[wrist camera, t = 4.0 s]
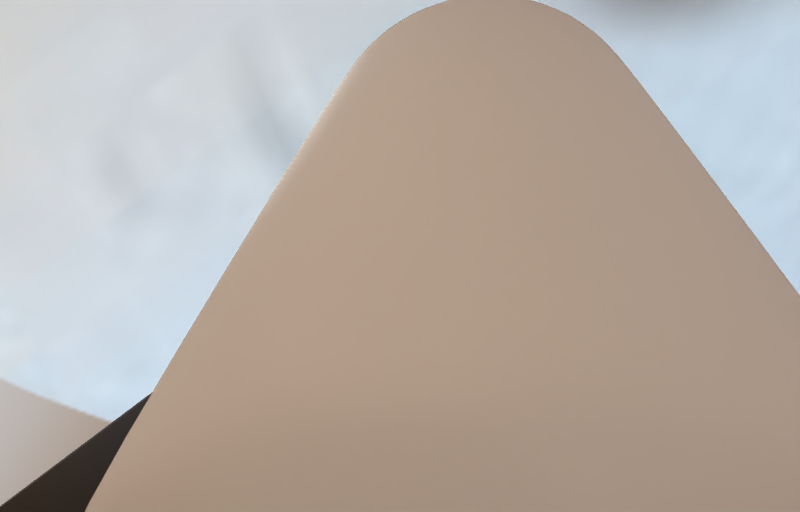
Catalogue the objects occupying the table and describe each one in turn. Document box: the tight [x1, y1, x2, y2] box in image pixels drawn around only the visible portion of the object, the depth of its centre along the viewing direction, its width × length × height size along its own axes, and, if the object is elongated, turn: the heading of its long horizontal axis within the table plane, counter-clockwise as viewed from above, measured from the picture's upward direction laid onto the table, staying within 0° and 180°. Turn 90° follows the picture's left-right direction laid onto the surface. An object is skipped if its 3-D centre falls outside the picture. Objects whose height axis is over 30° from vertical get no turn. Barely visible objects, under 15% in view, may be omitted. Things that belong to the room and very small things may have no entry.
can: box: [85, 0, 800, 512], centre depth 8 cm, size 6×6×12 cm
